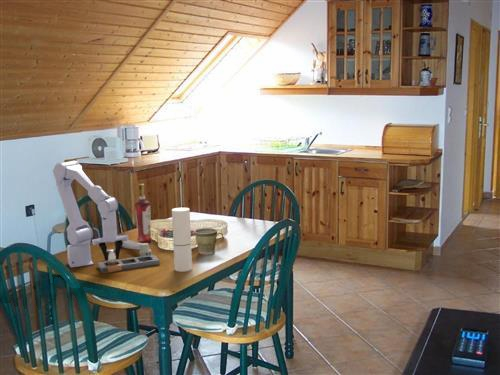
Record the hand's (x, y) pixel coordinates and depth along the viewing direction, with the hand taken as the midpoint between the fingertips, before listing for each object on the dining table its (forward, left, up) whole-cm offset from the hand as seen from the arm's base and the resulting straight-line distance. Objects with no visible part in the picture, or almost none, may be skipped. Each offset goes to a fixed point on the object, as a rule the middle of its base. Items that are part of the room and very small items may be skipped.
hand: (111, 259), depth 257 cm
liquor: (+23, +35, -4) cm, 42 cm away
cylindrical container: (+26, -15, -4) cm, 30 cm away
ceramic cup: (+44, +2, -4) cm, 44 cm away
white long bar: (+15, +19, -4) cm, 25 cm away
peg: (0, 0, -3) cm, 3 cm away
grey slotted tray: (+7, 0, -4) cm, 8 cm away
